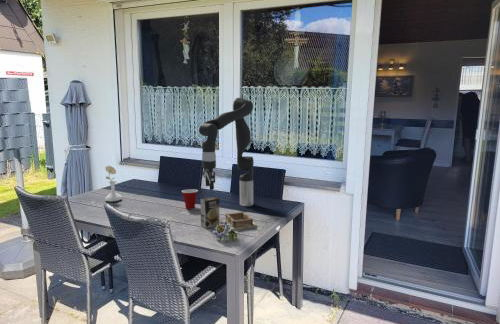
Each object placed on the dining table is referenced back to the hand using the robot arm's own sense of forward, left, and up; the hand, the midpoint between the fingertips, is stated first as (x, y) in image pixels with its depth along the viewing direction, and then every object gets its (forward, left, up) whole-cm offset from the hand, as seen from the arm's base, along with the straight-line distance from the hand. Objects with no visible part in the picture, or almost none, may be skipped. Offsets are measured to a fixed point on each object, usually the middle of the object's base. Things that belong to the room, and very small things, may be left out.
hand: (209, 187), depth 207 cm
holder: (+4, +16, -22) cm, 28 cm away
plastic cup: (-38, -3, -23) cm, 44 cm away
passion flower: (+22, +2, -23) cm, 32 cm away
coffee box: (0, 0, -23) cm, 23 cm away
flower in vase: (-76, -50, -23) cm, 94 cm away
